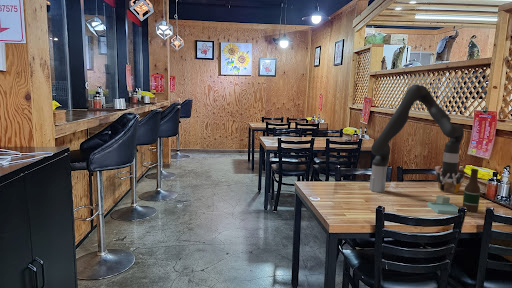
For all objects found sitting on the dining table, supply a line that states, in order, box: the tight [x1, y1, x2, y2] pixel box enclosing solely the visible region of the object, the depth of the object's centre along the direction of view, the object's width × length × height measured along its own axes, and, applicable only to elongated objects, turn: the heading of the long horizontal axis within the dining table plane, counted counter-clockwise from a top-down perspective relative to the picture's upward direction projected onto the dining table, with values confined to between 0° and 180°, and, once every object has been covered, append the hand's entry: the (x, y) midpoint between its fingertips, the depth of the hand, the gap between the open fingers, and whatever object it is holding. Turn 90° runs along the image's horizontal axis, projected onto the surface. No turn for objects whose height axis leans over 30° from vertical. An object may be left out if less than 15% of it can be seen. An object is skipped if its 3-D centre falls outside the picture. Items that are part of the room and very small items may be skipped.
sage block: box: [435, 194, 451, 203], centre depth 206 cm, size 5×5×5 cm
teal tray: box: [426, 201, 460, 215], centre depth 196 cm, size 14×14×2 cm
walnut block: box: [440, 182, 455, 194], centre depth 194 cm, size 5×5×5 cm
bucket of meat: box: [434, 161, 467, 194], centre depth 236 cm, size 20×16×20 cm
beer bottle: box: [461, 168, 481, 214], centre depth 194 cm, size 8×8×24 cm
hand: (447, 190), depth 194 cm, fingers closed on walnut block, 5 cm apart
